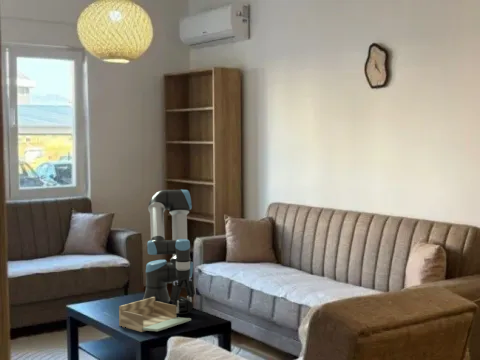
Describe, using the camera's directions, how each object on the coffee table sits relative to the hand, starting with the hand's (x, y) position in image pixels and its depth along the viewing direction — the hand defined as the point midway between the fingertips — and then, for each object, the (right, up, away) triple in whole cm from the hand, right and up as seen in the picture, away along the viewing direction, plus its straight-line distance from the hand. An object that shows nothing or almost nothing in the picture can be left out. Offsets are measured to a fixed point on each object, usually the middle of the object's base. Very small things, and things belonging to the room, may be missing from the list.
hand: (183, 310), depth 347 cm
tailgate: (-9, -1, -22) cm, 24 cm away
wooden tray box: (-16, -3, -17) cm, 24 cm away
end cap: (0, -1, 0) cm, 1 cm away
